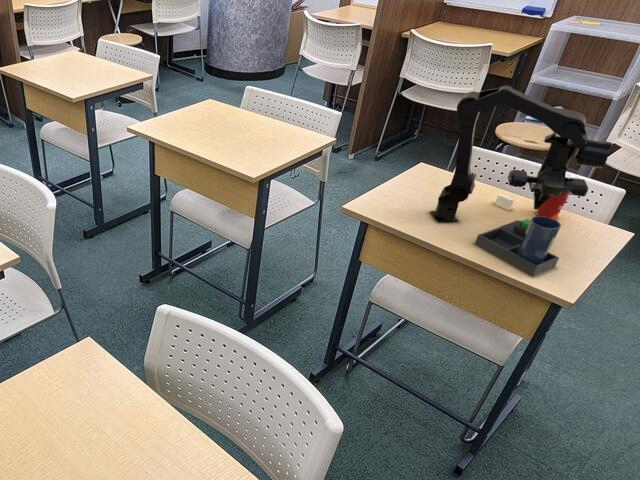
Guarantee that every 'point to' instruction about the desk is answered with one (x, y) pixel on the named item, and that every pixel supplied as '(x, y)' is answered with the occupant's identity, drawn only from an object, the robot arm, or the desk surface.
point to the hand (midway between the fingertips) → (535, 208)
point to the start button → (525, 223)
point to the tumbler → (538, 239)
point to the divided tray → (512, 251)
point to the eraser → (504, 202)
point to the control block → (515, 228)
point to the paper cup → (554, 203)
